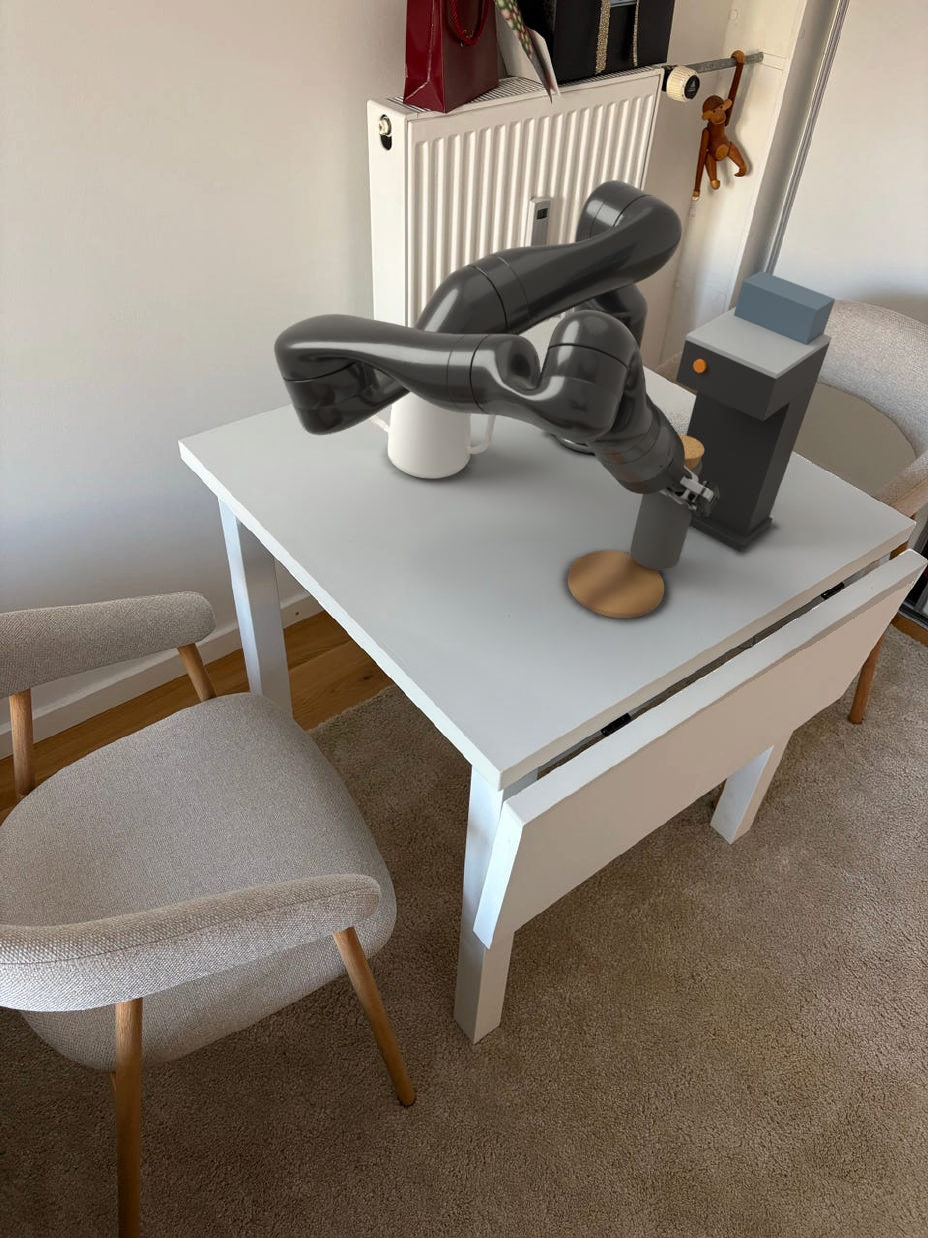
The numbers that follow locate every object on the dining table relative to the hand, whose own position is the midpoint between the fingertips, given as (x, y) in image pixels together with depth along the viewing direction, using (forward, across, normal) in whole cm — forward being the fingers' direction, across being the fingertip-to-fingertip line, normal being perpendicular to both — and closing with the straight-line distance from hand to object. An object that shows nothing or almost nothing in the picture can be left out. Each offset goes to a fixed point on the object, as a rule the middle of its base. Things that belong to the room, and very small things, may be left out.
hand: (676, 494), depth 111 cm
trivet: (+1, -1, -12) cm, 12 cm away
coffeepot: (+4, -33, -10) cm, 35 cm away
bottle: (+4, 0, -7) cm, 8 cm away
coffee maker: (+14, 0, 0) cm, 14 cm away
